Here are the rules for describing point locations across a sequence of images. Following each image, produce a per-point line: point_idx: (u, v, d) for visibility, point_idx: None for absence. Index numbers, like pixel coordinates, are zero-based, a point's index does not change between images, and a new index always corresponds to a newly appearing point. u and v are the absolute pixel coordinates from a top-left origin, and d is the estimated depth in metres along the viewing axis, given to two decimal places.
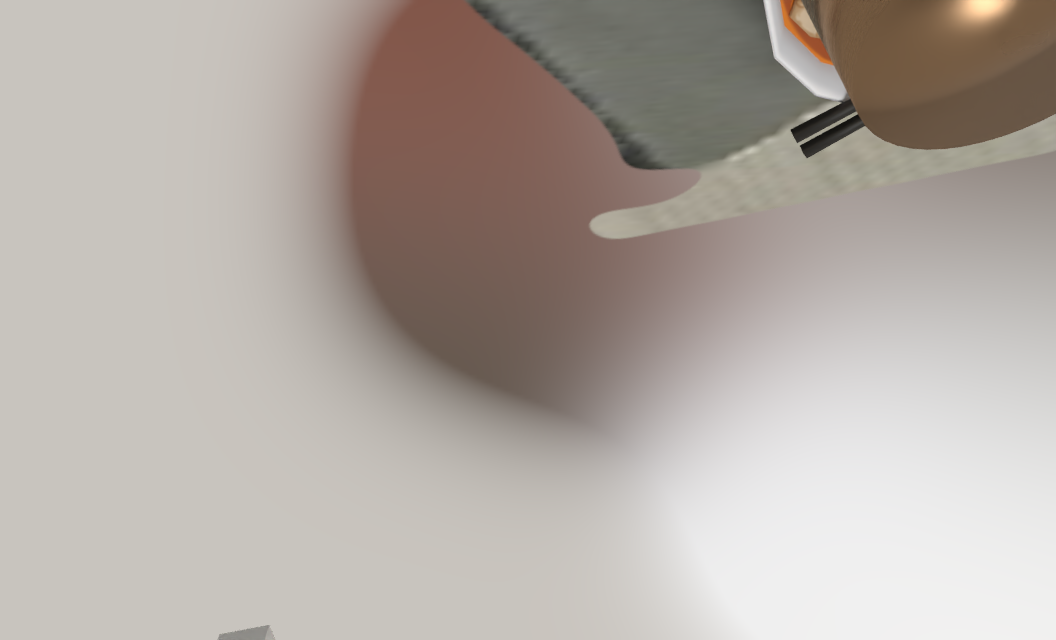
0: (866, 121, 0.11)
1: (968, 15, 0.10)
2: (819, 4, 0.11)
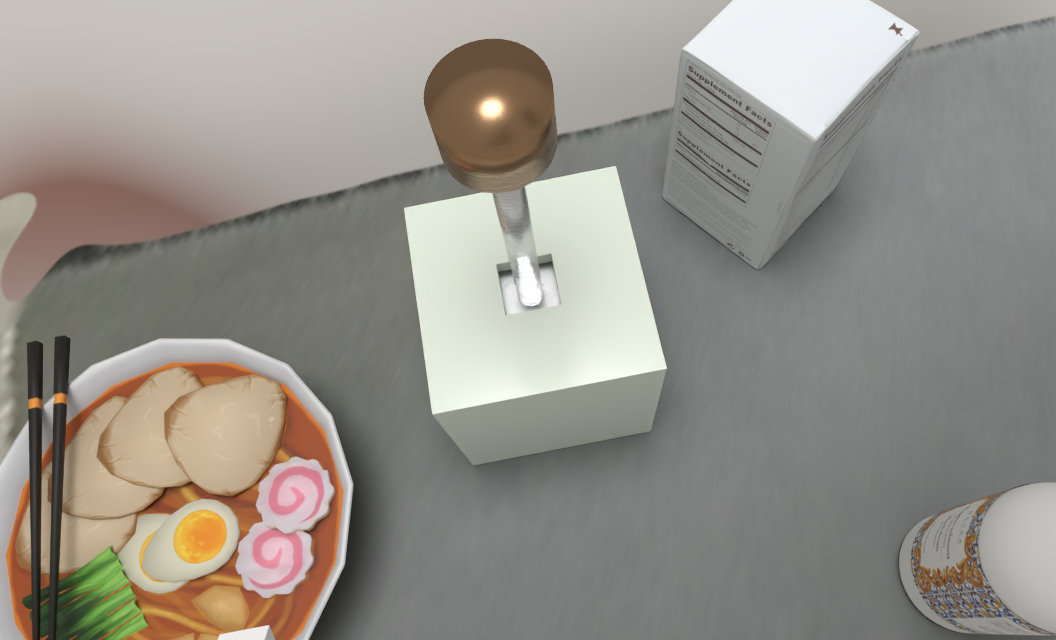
0: (472, 42, 0.28)
1: (508, 72, 0.27)
2: None
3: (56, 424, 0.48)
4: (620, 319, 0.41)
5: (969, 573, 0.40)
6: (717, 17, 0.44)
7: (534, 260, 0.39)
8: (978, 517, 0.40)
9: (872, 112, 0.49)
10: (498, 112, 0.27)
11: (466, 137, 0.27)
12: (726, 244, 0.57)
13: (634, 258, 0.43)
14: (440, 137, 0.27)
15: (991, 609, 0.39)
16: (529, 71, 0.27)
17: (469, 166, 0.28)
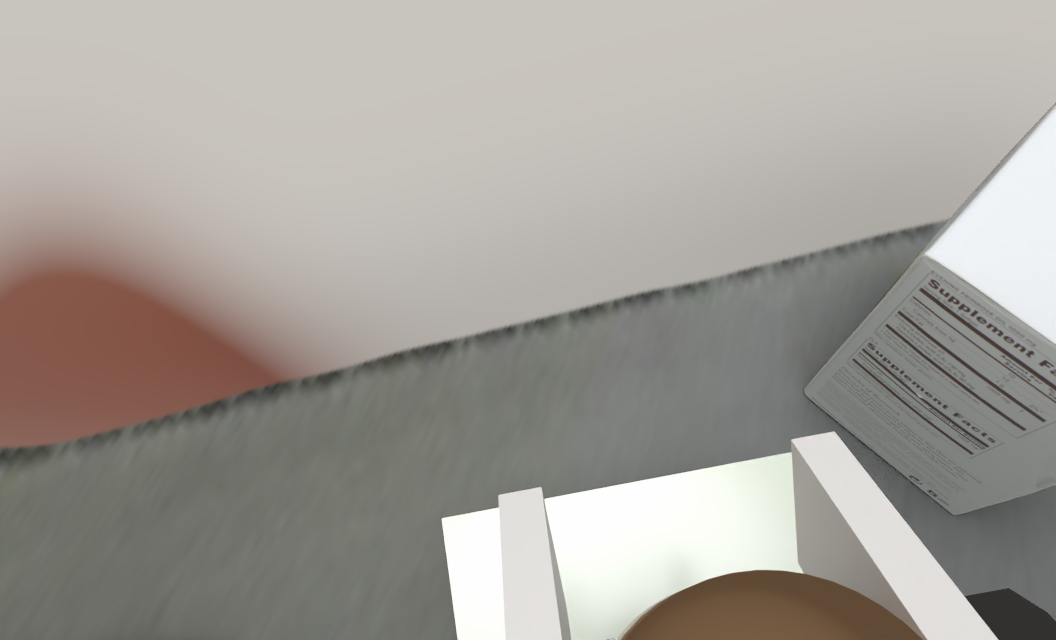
0: (716, 580, 0.09)
1: None
2: None
3: None
4: None
5: None
6: (982, 197, 0.26)
7: None
8: None
9: None
10: None
11: None
12: (907, 475, 0.39)
13: None
14: None
15: None
16: None
17: None
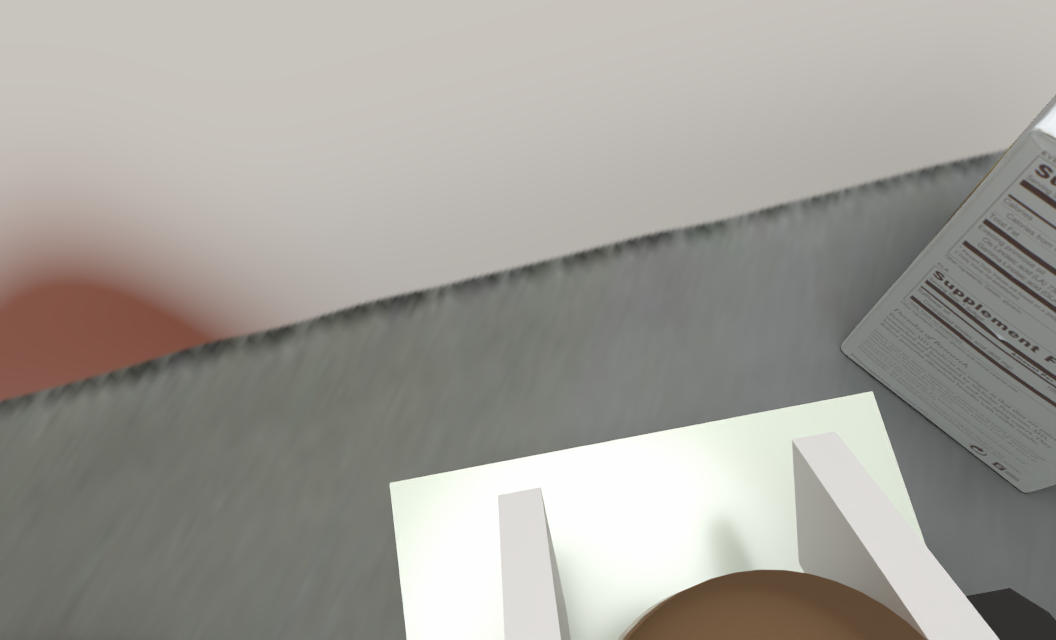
0: (719, 580, 0.09)
1: None
2: None
3: None
4: None
5: None
6: None
7: None
8: None
9: None
10: None
11: None
12: (967, 445, 0.32)
13: None
14: None
15: None
16: None
17: None
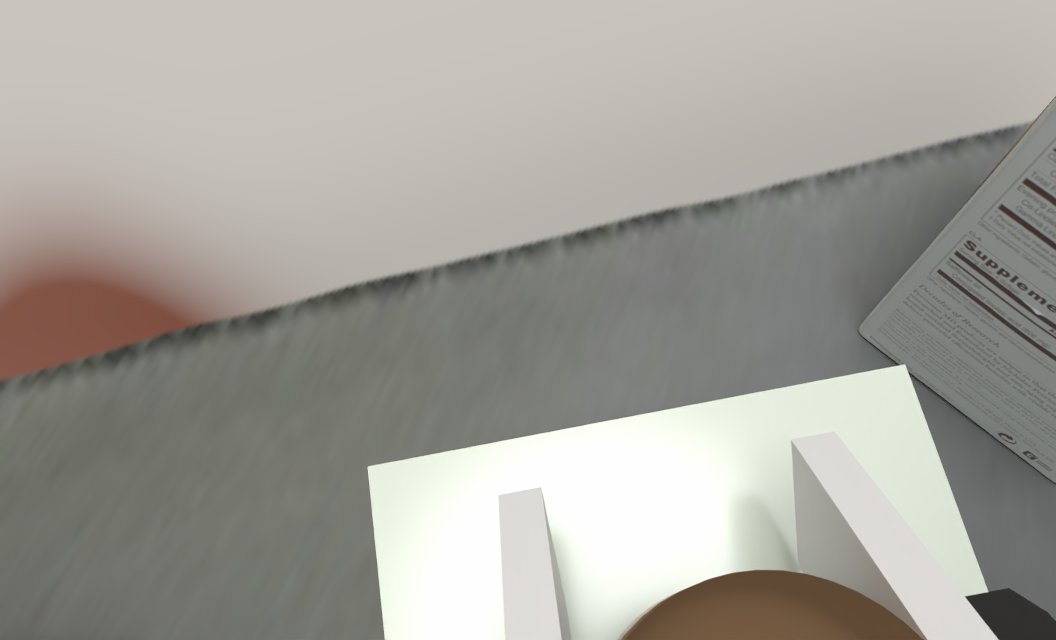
0: (717, 580, 0.09)
1: None
2: None
3: None
4: None
5: None
6: None
7: None
8: None
9: None
10: None
11: None
12: (995, 433, 0.30)
13: None
14: None
15: None
16: None
17: None
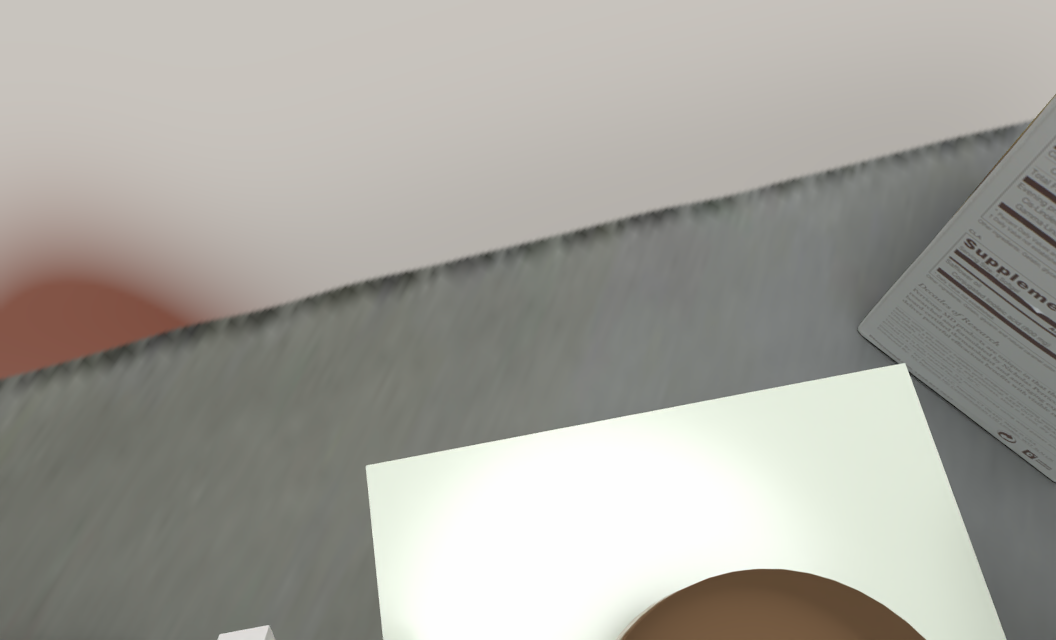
0: (717, 579, 0.09)
1: None
2: None
3: None
4: None
5: None
6: None
7: None
8: None
9: None
10: None
11: None
12: (994, 432, 0.30)
13: None
14: None
15: None
16: None
17: None
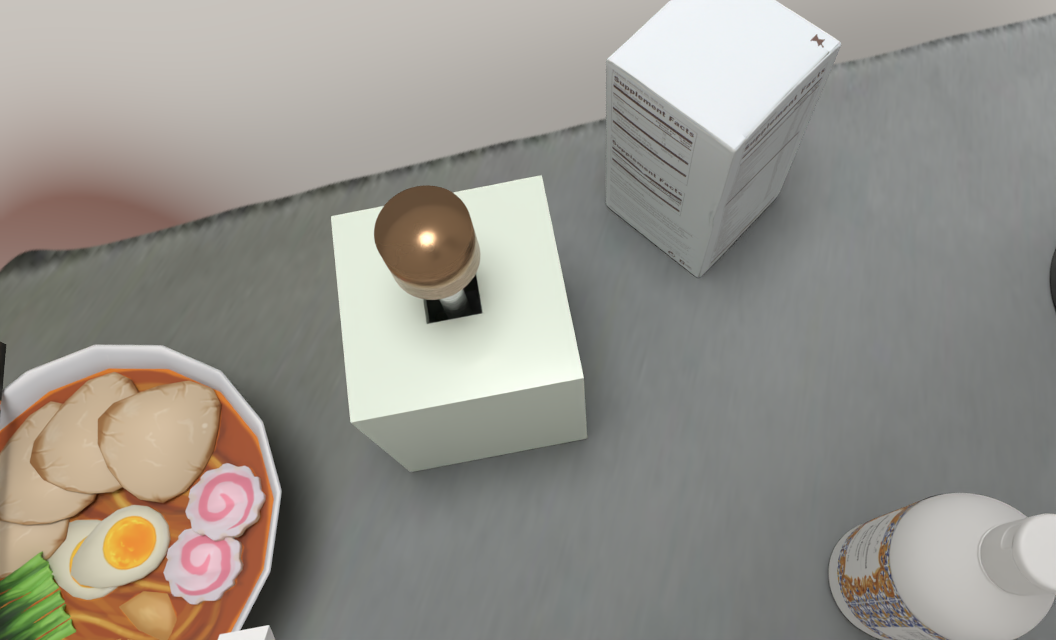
0: (412, 188, 0.37)
1: (438, 213, 0.36)
2: None
3: None
4: (540, 328, 0.42)
5: (882, 583, 0.40)
6: (642, 28, 0.45)
7: None
8: (891, 527, 0.40)
9: (803, 122, 0.49)
10: (430, 246, 0.36)
11: (404, 265, 0.35)
12: (667, 252, 0.57)
13: (556, 267, 0.43)
14: (386, 263, 0.36)
15: (903, 619, 0.39)
16: (454, 212, 0.36)
17: (409, 283, 0.36)
